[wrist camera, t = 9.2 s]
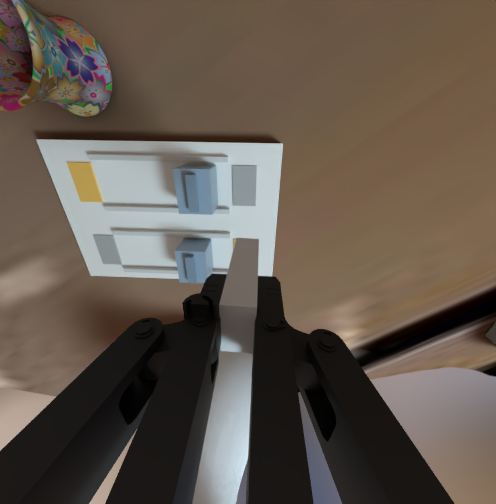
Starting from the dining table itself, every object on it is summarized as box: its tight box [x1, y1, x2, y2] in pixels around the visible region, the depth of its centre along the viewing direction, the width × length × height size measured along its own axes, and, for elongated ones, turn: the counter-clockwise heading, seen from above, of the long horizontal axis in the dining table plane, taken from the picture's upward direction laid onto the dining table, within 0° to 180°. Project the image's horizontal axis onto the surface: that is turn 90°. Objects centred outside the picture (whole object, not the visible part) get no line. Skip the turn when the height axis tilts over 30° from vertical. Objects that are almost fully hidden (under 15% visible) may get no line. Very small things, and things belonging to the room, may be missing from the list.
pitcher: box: [192, 346, 253, 504], centre depth 35 cm, size 24×17×28 cm
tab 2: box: [175, 238, 213, 284], centre depth 30 cm, size 4×5×5 cm
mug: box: [0, 0, 112, 116], centre depth 20 cm, size 12×9×11 cm
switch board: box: [36, 139, 283, 279], centre depth 31 cm, size 30×20×3 cm, turn 89°
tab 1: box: [173, 165, 218, 215], centre depth 25 cm, size 4×5×5 cm
